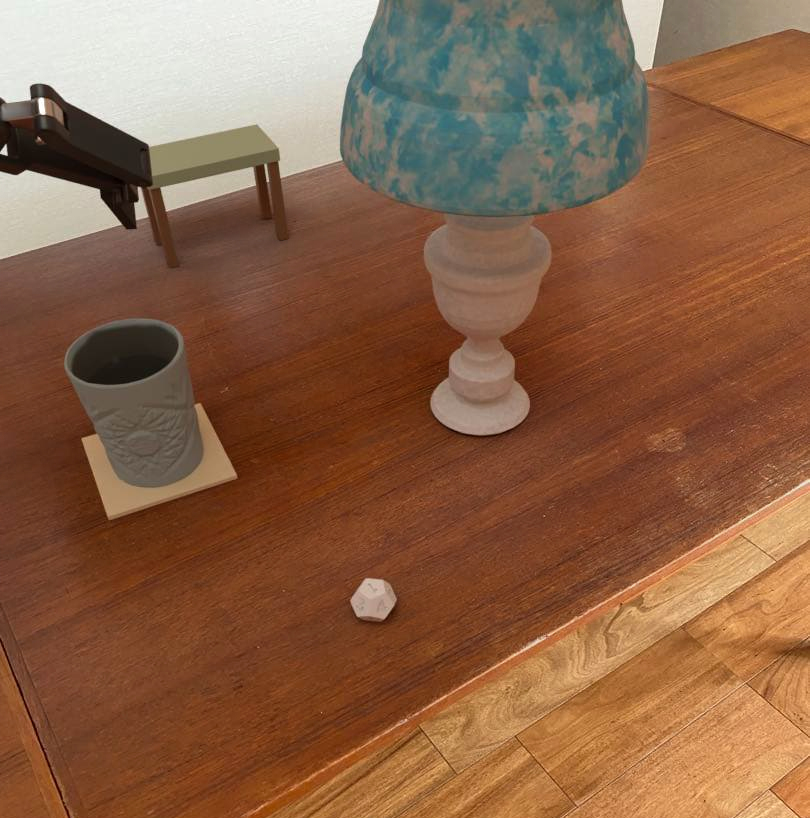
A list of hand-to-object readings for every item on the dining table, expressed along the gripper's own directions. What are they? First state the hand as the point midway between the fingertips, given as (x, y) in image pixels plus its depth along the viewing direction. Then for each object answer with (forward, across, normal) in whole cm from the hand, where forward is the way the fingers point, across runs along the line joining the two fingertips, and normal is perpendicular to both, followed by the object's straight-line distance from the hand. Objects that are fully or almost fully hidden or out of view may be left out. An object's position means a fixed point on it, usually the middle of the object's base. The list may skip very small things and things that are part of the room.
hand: (34, 218), depth 63 cm
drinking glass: (+19, +3, -16) cm, 25 cm away
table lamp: (+22, +34, -14) cm, 43 cm away
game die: (+4, +22, -32) cm, 39 cm away
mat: (+19, +3, -17) cm, 26 cm away
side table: (+49, +7, +13) cm, 51 cm away
